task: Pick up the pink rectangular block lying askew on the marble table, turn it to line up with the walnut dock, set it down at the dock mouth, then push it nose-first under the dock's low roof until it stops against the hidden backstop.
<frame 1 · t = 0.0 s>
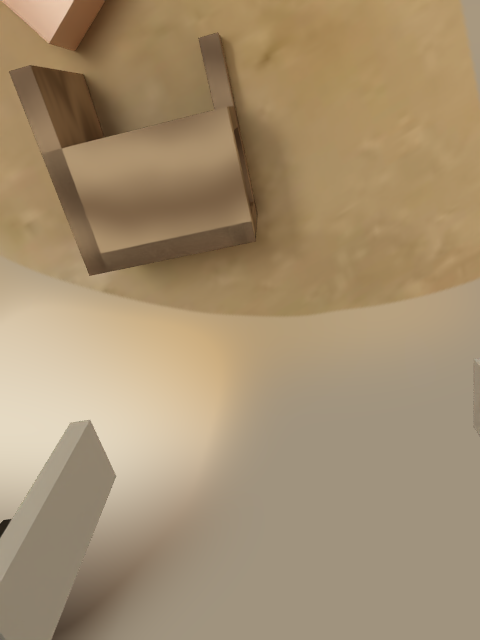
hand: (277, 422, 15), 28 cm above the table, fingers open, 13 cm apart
dock: (166, 150, 38), on the table
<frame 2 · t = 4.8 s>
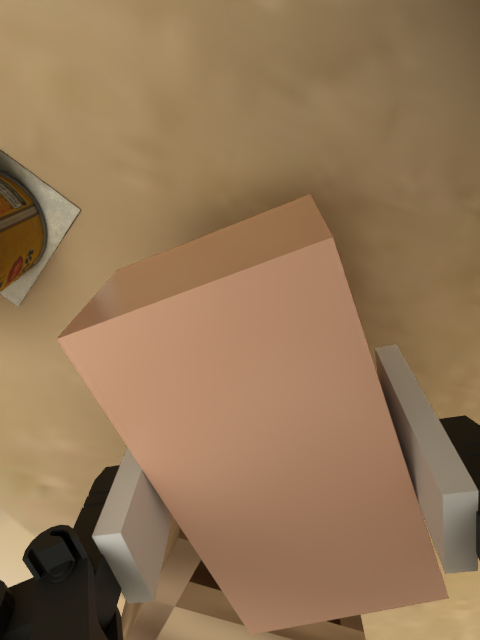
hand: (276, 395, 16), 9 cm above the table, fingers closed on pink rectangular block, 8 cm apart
dock: (250, 515, 32), on the table
pink rectangular block: (276, 386, 17), point 9 cm above the table, touching gripper
when the fingers open (0 cm above the table, at t = 7.5 s): pink rectangular block stays where it is, on the table.
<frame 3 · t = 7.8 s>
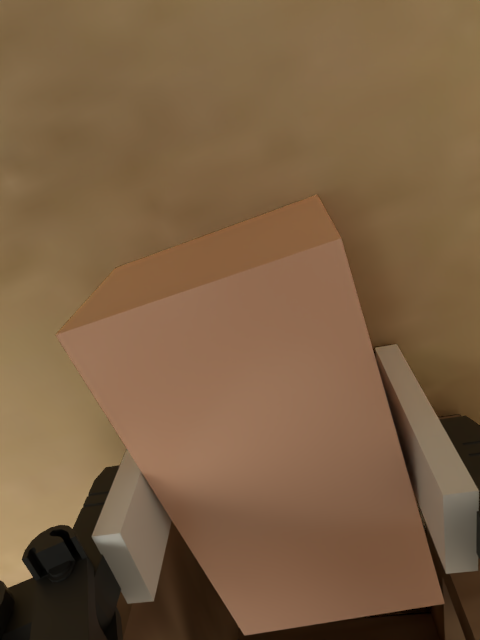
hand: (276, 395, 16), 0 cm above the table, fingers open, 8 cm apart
dock: (316, 551, 21), on the table
pink rectangular block: (276, 387, 17), on the table
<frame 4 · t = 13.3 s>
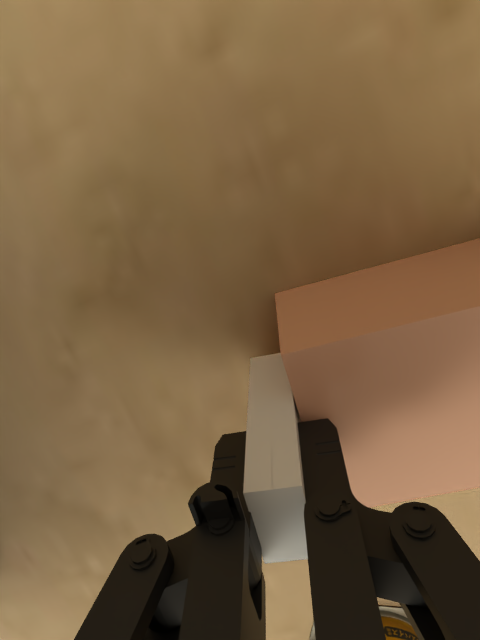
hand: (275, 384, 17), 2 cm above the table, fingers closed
pink rectangular block: (450, 325, 18), on the table, touching gripper
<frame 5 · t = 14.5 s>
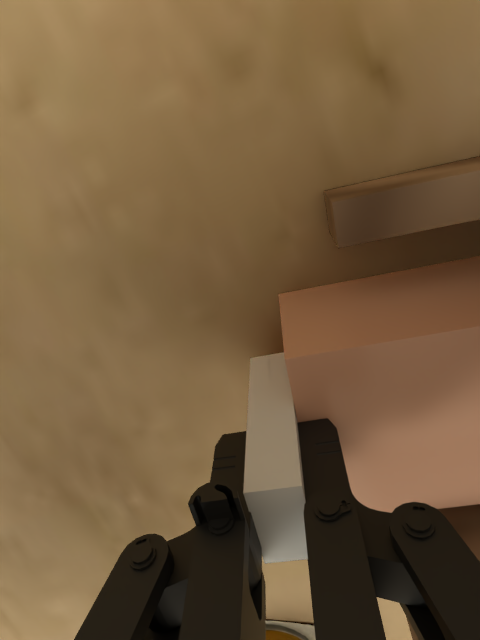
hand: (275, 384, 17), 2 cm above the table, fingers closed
pink rectangular block: (450, 341, 18), on the table, touching gripper
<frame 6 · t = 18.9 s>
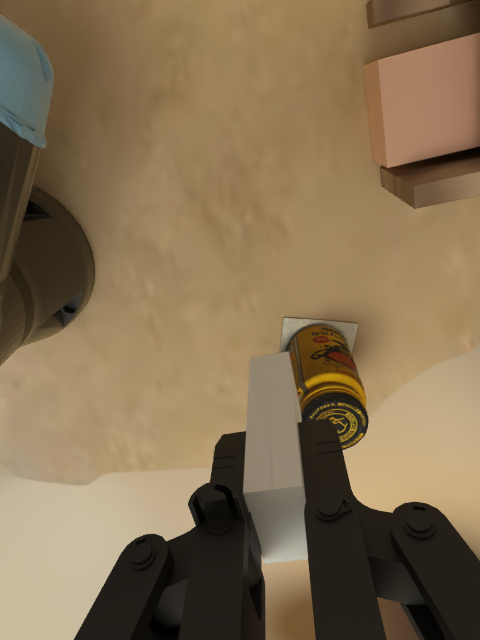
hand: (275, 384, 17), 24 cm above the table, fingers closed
dock: (468, 79, 33), on the table
condiment: (314, 355, 45), on the table
pink rectangular block: (452, 93, 34), on the table
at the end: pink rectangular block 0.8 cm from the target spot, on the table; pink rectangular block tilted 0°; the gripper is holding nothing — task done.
